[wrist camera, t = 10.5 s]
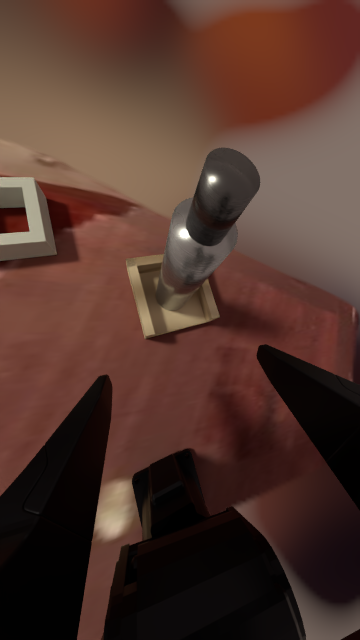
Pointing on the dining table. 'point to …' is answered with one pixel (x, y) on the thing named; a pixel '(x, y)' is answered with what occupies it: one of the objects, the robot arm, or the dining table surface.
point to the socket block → (41, 235)
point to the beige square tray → (152, 314)
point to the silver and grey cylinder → (205, 226)
